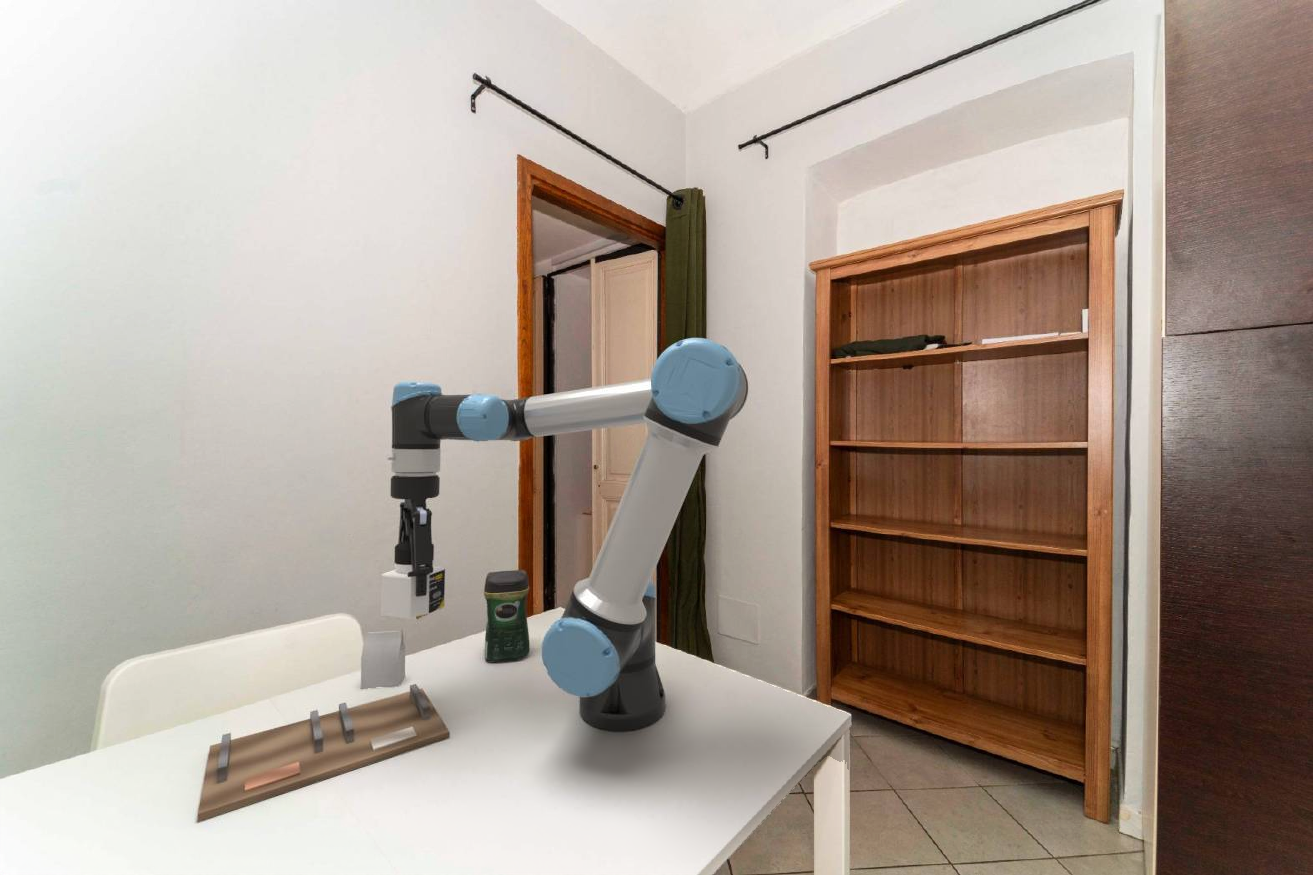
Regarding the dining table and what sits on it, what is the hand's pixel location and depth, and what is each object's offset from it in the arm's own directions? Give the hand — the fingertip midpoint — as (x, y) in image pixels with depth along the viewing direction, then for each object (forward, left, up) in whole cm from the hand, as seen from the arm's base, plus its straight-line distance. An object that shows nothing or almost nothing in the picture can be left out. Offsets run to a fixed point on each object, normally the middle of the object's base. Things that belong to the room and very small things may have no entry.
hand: (413, 605), depth 87 cm
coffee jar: (+16, -22, -20) cm, 34 cm away
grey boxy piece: (+18, +2, -20) cm, 27 cm away
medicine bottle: (0, 0, -1) cm, 1 cm away
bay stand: (0, +12, -19) cm, 23 cm away
